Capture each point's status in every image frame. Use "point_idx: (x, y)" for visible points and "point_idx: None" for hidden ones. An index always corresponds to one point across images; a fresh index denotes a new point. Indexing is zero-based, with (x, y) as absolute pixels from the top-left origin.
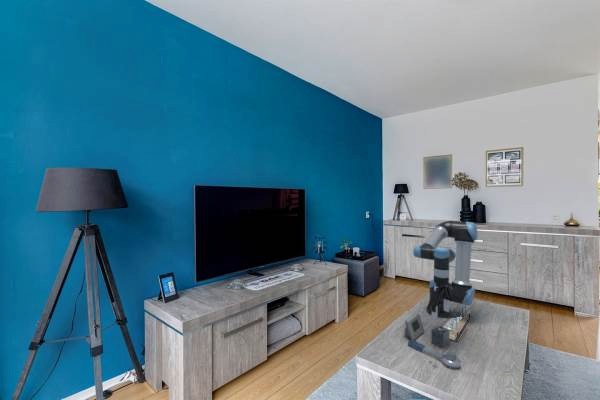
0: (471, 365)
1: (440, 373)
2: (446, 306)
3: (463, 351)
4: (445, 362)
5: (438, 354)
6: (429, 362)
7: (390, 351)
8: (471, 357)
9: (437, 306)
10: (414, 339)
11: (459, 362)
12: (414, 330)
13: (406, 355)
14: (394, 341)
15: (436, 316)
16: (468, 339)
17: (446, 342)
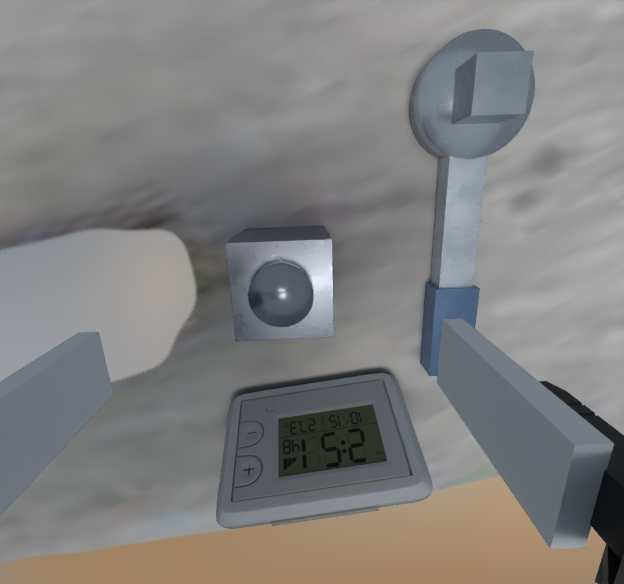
0: (372, 6)
1: (602, 99)
2: (52, 405)
3: (245, 127)
4: (525, 111)
5: (466, 188)
6: (535, 199)
7: (578, 379)
8: (273, 54)
9: (574, 440)
10: (381, 373)
11: (475, 35)
12: (361, 413)
13: (557, 312)
14: None
15: (476, 332)
16: (59, 180)
17: (280, 230)
